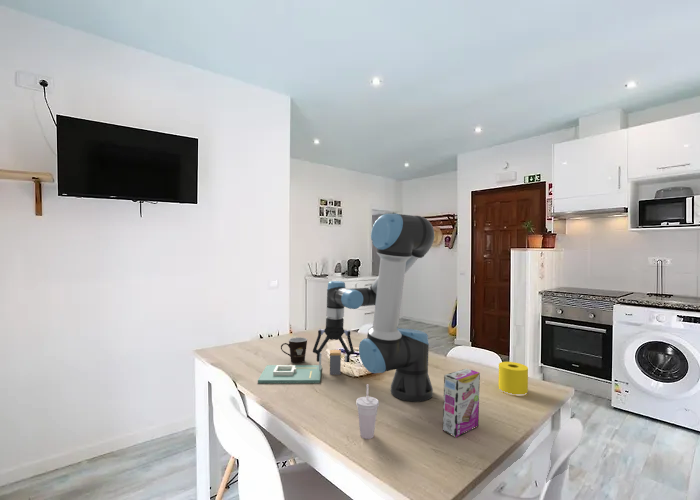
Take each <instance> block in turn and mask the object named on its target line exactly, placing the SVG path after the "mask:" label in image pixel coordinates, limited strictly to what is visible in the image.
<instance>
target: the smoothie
mask: <svg viewBox="0 0 700 500" xmlns="http://www.w3.org/2000/svg"><path fill="white" fill-rule="evenodd" d="M369 385H370V384H368V383H367V384H366V393H365V394H366V396H361V397H357V398H356V402H355V405H356V406H357V414H358V415H357V416H358V424H359V432H360V437H361V438H362V439H365V440H370V439H372V438H374V435H375V428H376V421H377V413H378V407H379V406H380V403H379V399H377V398H376V397H373V396H369V390H370V389H369Z"/></svg>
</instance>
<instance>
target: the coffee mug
mask: <svg viewBox="0 0 700 500" xmlns="http://www.w3.org/2000/svg"><path fill="white" fill-rule="evenodd" d="M284 345H287V346H288V348H289V353H288V352H286V351H284V349H283V347H284ZM307 345H308V339H307V337H299V336H298V337H292V338H289V339H288V343H287V342H285V343H282V344H281V345H280V350H281V352H282V353H284V354H285V355H288V356H289V357H290V362H291V363H293V364H302V363H304V362H305V360H306V355H307V354H306V353H307V352H306V351H307Z"/></svg>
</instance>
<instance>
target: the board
mask: <svg viewBox="0 0 700 500" xmlns="http://www.w3.org/2000/svg"><path fill="white" fill-rule="evenodd" d="M321 377H322V364H321V370H319V364H302V365H301V364H294V365H293V364H292V365H291V364H266V366H265V368H264V369H263V371H262V373H261V374H260V376H259V377H258V379H257V384H320V383H321Z"/></svg>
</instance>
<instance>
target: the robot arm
mask: <svg viewBox="0 0 700 500" xmlns="http://www.w3.org/2000/svg"><path fill="white" fill-rule="evenodd" d="M370 232H371V233H370V234H371V235H370V237H371V238H370V239H371V241H372V245H373V246H374V247H375V248H376V254H377V255H378V257H379V259H380V261H379V270H378V276H377V277H376V279H375V280H374V281H373V282H372V283H371V285H370V286H369V287H357V288H355V287H353V288H348V287H347V286H346V283H345V282H344V281H339V280H330V281H329V282H328V283H327V289H326V310H325V311H326V318H325V328H324V329H321V328H319V329H318V330H317V331H318V332H317V337H316V340H315V343H314V346H313V349H312V353H314V354H315V355H316V362H317V363H319V364H318V365H319V370H321V371H322V368H321V365H322V354H323V353H322V351H323V350H324V348H325V346H326V345H327V343H328V342H329V340H332V341H333V340H335V341H339V342H340V344H341V347H342V348H343V349H344V351H345V353H344V363H345V362H349V363H350V360H351V359H350V356H351V355H353V354H355V351H354V345H353V343H352V342H353V341H352V340H351V330H350V329H348V330H347V329H346V330H345V329H344V323H345V322H344V321H345V320H344V317H345V308H346V309H350V310H357V309H359V308H360V307H370V306H374V313H373V322H372V326H370V327H369V328H368V330H367V335H366V336H367V337H366V338H363V339H361V341H360V343H359V344H358V355H359V358H360V361H361V363H362V365H363V367H364V368H365V369H366V370H367V371H368V372H370V373H371V374H380V373H381V374H383V373H385V372H389V371H395V372H394V374H393V375H394V376H393V378H392V381H391V385H390V394H391V395H392V396H393V397H395V398H396V399H399V400H402V401H405V402H412V403H413V402H415V403H416V402H419V403H420V402H425V400H426V401H429V400H430V399H432V398H433V393H434V392H433V391H434V390H433V385H432V382H431V380H430V375H429V348H430V347H429V346H430V343H429V336H428V334H427V333H426V332H425V331H422V330H419V329H412V328H407V327H406V328H405V327H404V328H402V327H401V328H399V324H400V316H401V315H400V314H401V307H402V298H403V289H404V282H405V274H406V273H407V272H408V271H409V270H410V269H411V267H412V266H413V265H414V264H415V263H416V262H417V260H419V259H422V258H424V257H425V255H427V254H428V252H429V250H431V248H432V246H433V243H434V242H435V229H434V226H433V224H432V223H431V222H430V221H429V220H428V219H427V218H425V217H424V216H420V215H412V214H411V215H410V214H400V213H384V214H382V215H380V216H378V218H377V219H376V220H375V222H374V223H373V226H372V228H371V231H370ZM323 334H325V335H326V336H325V338H324V340H323V341H322V343H321V345H320V346H319V342H320V340H321V336H322V335H323ZM344 334H345V336H346V337H347V341H348V345H349V348H348V347H347V344H346V343H345V341H344V339H343V337H342V336H343V335H344ZM318 346H319V347H318ZM349 349H350V350H349ZM431 397H432V398H431ZM428 399H429V400H428Z"/></svg>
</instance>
